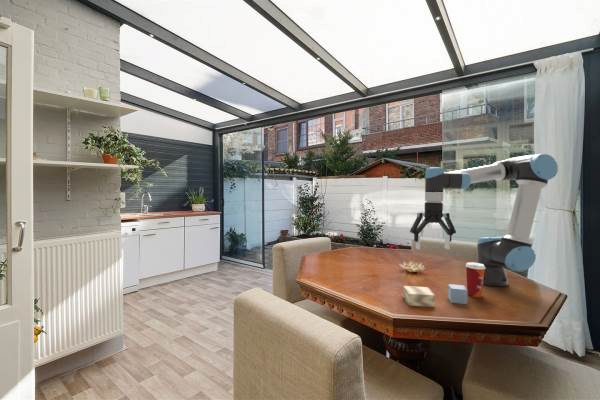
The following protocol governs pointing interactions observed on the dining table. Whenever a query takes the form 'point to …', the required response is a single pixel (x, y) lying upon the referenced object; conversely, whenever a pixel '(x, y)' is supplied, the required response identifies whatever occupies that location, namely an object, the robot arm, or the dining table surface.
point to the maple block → (419, 296)
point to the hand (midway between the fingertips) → (432, 249)
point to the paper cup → (475, 279)
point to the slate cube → (457, 294)
